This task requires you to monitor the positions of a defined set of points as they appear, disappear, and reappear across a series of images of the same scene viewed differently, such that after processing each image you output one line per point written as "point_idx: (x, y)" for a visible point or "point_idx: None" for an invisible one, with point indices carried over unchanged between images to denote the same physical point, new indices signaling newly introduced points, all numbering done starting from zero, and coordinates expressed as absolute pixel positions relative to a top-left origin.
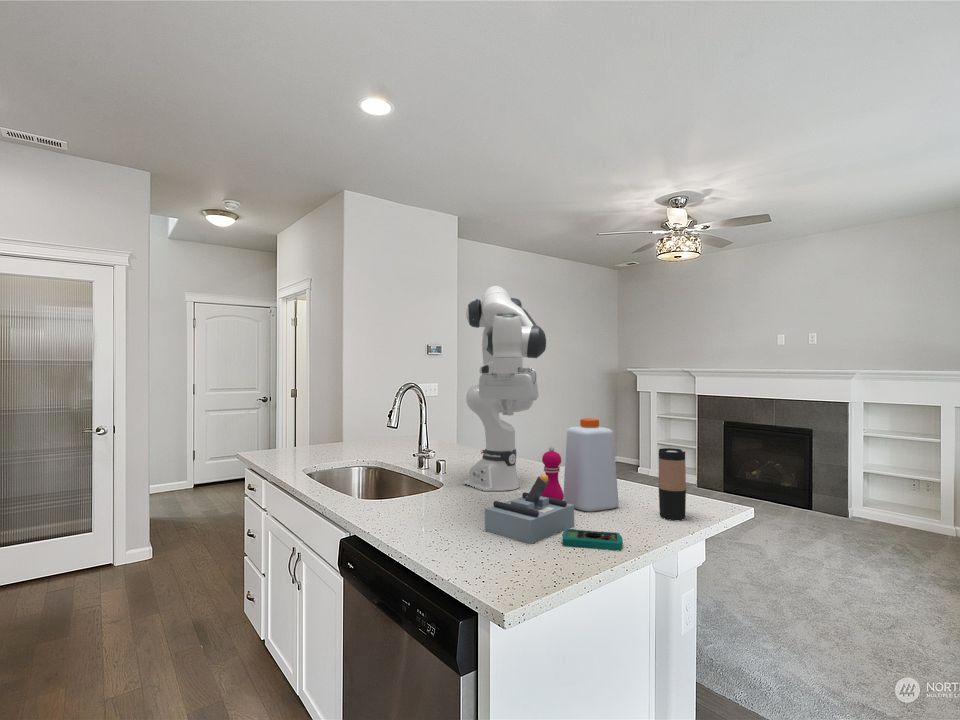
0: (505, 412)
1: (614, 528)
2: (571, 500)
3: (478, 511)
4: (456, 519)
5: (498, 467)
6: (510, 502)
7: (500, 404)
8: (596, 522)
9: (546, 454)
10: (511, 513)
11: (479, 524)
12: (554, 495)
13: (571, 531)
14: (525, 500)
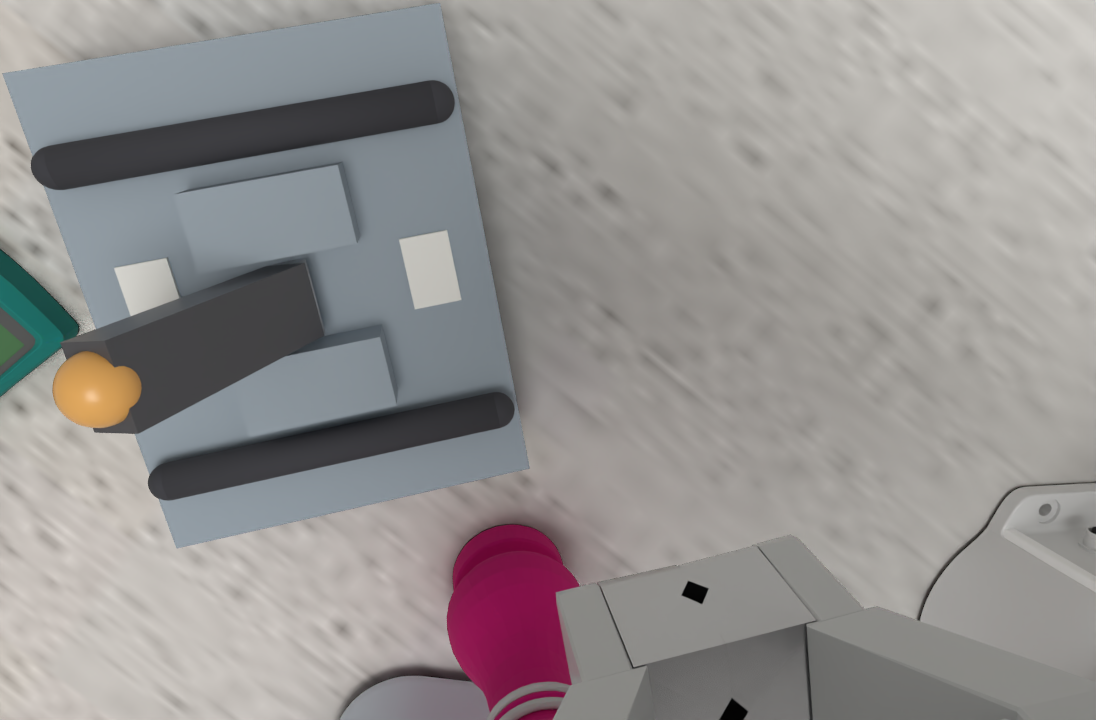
0: (707, 587)
1: (60, 624)
2: (472, 699)
3: (748, 224)
4: (712, 13)
5: (1075, 644)
6: (445, 243)
7: (1002, 672)
8: (194, 616)
9: None
10: (226, 78)
11: (548, 68)
12: (460, 604)
13: (21, 349)
14: (293, 267)
